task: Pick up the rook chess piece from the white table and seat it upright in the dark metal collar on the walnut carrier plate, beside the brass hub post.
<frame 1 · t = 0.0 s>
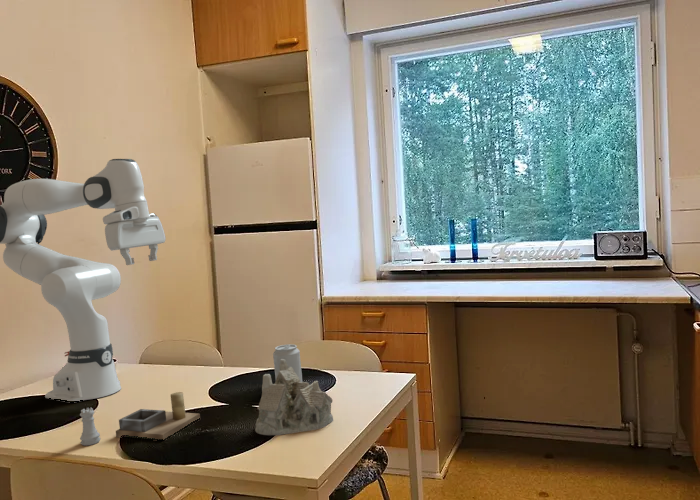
hand: (142, 262, 176), 39 cm above the table, tool pointing down, fingers open, 8 cm apart
ceramic cottage: (294, 425, 146), on the table
rook chess piece: (90, 443, 146), on the table
carrier plate: (159, 428, 152), on the table
can: (289, 388, 176), on the table
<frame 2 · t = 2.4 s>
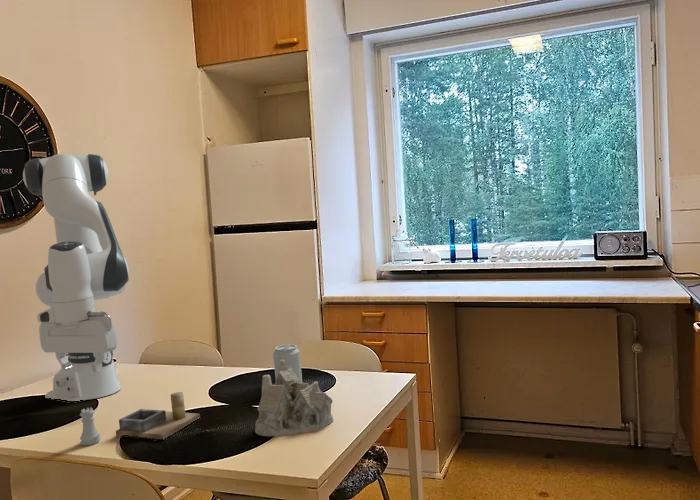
hand: (82, 370, 144), 17 cm above the table, tool pointing down, fingers open, 8 cm apart
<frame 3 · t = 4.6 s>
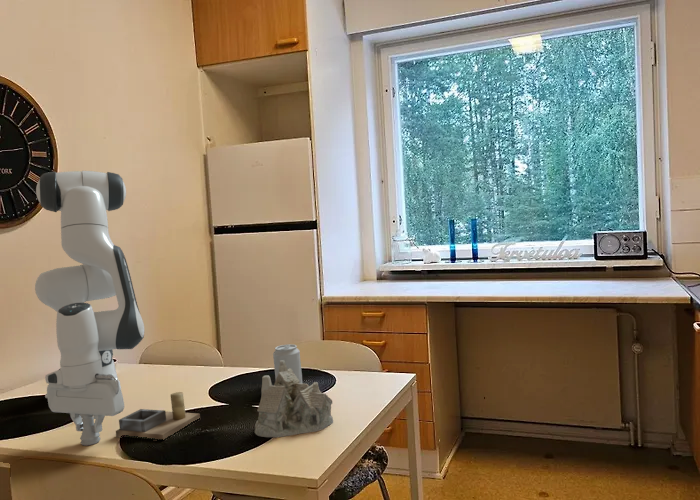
hand: (89, 431, 146), 3 cm above the table, tool pointing down, fingers closed on rook chess piece, 3 cm apart
rook chess piece: (90, 443, 146), on the table, touching gripper
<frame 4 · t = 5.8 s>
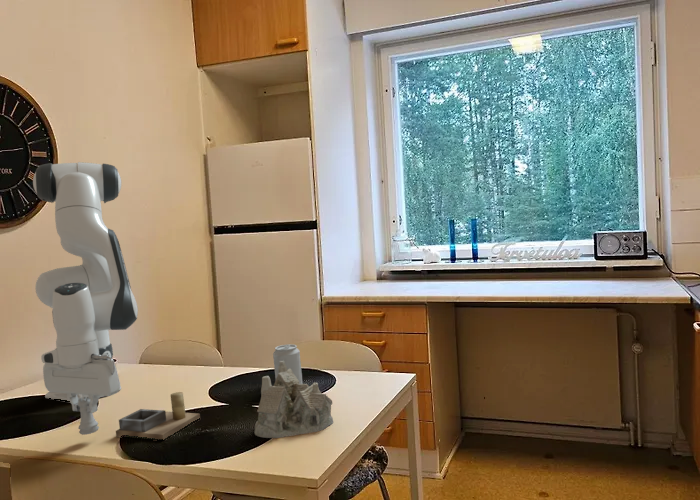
hand: (85, 411, 146), 7 cm above the table, tool pointing down, fingers closed on rook chess piece, 3 cm apart
rook chess piece: (89, 432, 146), point 2 cm above the table, touching gripper
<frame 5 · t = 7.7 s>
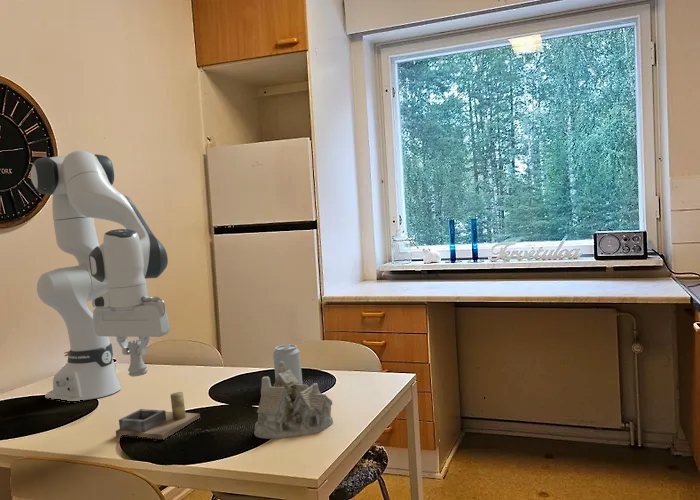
hand: (134, 354, 149), 19 cm above the table, tool pointing down, fingers closed on rook chess piece, 3 cm apart
rook chess piece: (138, 375, 149), point 14 cm above the table, touching gripper
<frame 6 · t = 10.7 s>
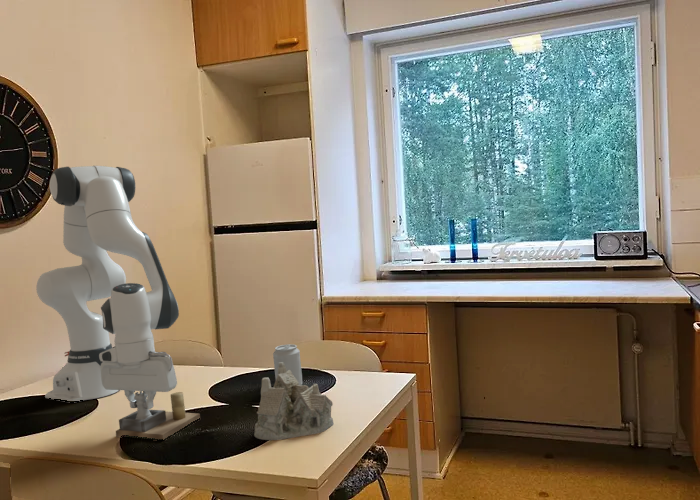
hand: (142, 407, 150), 6 cm above the table, tool pointing down, fingers closed on rook chess piece, 3 cm apart
rook chess piece: (145, 425, 150), point 1 cm above the table, touching carrier plate, gripper
when the fingers open (6 cm above the table, at t = 10.8 s): rook chess piece stays where it is, resting on carrier plate.
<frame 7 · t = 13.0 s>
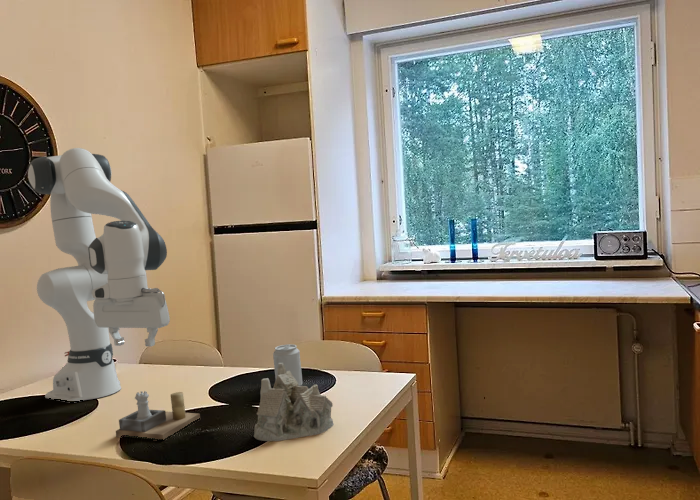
hand: (134, 345, 149), 21 cm above the table, tool pointing down, fingers open, 8 cm apart
rook chess piece: (145, 425, 150), point 1 cm above the table, touching carrier plate
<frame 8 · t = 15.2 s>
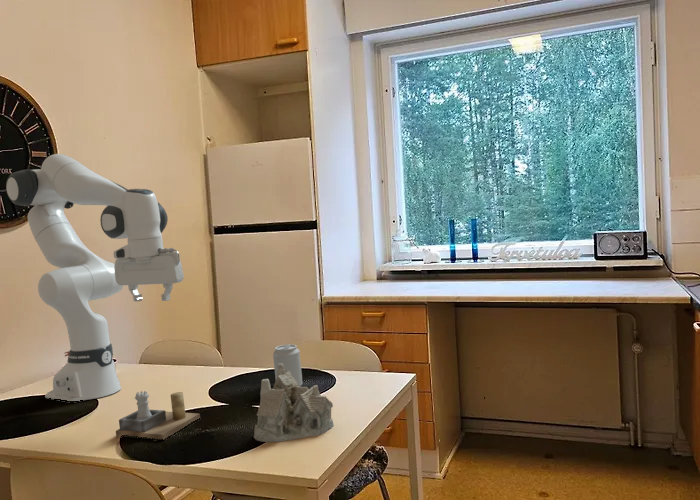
hand: (152, 300, 166), 29 cm above the table, tool pointing down, fingers open, 8 cm apart
at the end: rook chess piece 0.4 cm from the target spot on the carrier plate, point 1.3 cm above the carrier plate's base; rook chess piece tilted 0°; the gripper is holding nothing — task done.
